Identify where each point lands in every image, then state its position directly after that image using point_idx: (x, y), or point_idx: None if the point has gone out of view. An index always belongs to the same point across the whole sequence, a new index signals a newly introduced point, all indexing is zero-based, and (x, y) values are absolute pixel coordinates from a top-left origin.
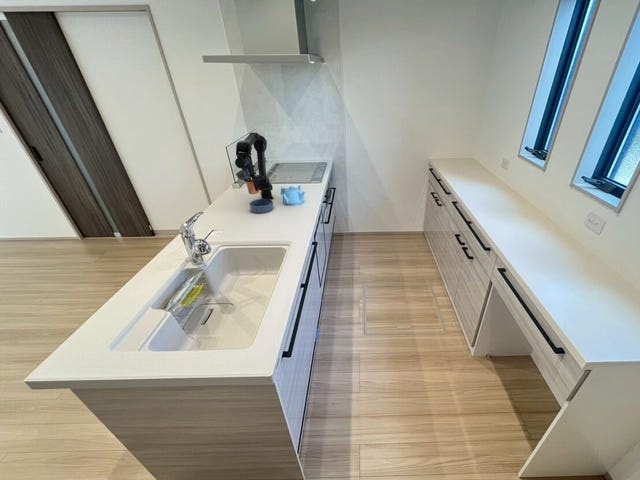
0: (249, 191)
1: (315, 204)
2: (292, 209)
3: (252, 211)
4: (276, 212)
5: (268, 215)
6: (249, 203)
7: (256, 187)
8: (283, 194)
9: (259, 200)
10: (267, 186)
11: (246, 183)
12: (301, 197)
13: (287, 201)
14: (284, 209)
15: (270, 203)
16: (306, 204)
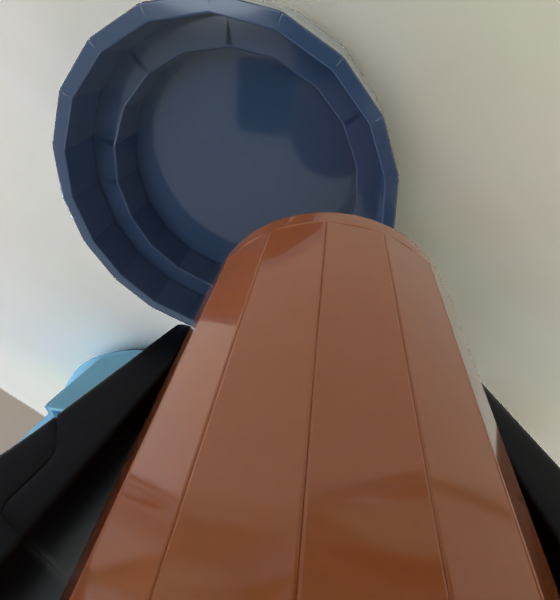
0: (335, 247)
1: (15, 395)
2: (23, 288)
3: (266, 3)
4: (47, 174)
5: (13, 43)
6: (363, 89)
7: (100, 399)
8: (49, 409)
9: None
10: None
11: (489, 536)
12: (39, 425)
13: (99, 362)
14: (71, 266)
15: (82, 234)
16: (55, 384)
